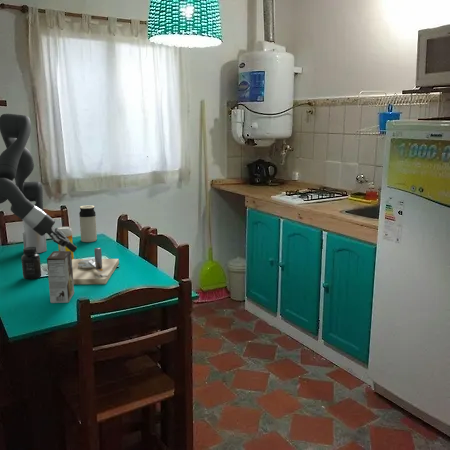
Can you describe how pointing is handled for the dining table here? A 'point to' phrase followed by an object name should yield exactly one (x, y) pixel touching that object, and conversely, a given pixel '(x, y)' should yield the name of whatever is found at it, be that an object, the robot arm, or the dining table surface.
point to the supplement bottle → (31, 263)
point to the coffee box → (60, 276)
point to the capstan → (93, 261)
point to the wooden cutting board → (93, 272)
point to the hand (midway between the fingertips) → (75, 250)
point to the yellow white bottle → (68, 233)
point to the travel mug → (88, 223)
